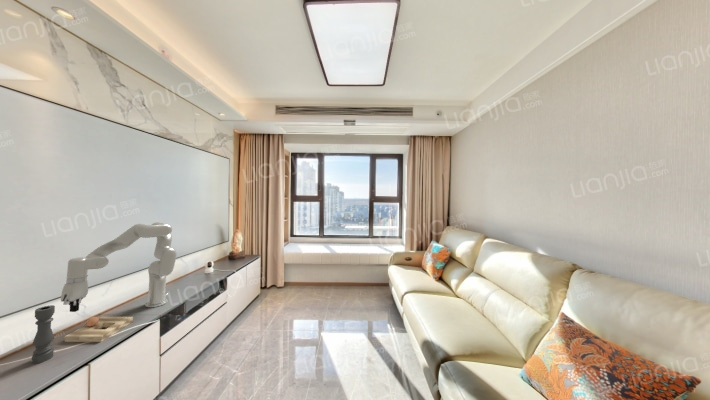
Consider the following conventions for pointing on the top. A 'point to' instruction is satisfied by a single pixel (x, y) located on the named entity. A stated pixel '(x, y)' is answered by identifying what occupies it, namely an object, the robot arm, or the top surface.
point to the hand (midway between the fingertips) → (74, 311)
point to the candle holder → (43, 334)
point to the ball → (92, 321)
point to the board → (99, 330)
